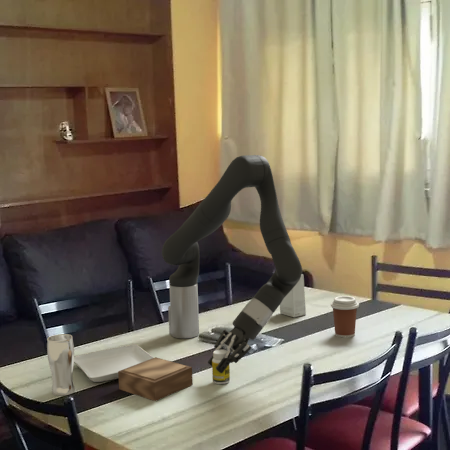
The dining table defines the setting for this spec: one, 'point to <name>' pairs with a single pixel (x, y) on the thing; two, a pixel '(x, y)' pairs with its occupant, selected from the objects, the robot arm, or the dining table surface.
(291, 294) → the skincare box
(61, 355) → the beer glass
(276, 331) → the dining table surface
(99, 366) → the salad plate
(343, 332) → the coffee cup
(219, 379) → the supplement bottle
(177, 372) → the pedestal
